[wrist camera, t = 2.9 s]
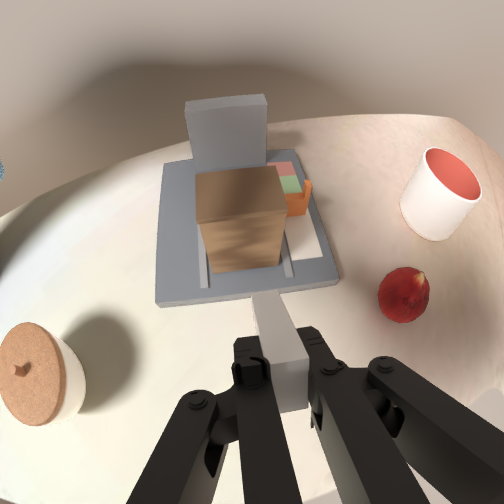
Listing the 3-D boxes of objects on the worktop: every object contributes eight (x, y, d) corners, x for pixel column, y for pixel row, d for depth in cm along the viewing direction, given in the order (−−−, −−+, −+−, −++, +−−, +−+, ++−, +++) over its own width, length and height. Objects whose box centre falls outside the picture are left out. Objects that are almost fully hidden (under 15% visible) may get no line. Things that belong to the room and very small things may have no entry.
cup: (450, 254, 32) (487, 213, 24) (394, 230, 34) (425, 180, 26) (447, 207, 37) (475, 165, 28) (398, 184, 39) (421, 137, 30)
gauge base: (159, 307, 29) (116, 256, 19) (166, 170, 40) (148, 108, 30) (335, 284, 30) (371, 225, 20) (293, 156, 41) (300, 93, 31)
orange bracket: (213, 225, 32) (207, 196, 28) (212, 218, 32) (207, 189, 28) (305, 215, 33) (312, 186, 28) (303, 208, 33) (309, 179, 29)
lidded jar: (59, 438, 20) (6, 438, 12) (28, 365, 24) (-22, 345, 16) (117, 404, 23) (66, 399, 15) (78, 326, 28) (31, 296, 19)
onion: (417, 316, 28) (455, 289, 21) (383, 339, 27) (420, 317, 20) (394, 277, 31) (424, 243, 24) (359, 296, 30) (387, 263, 23)
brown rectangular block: (211, 274, 29) (196, 220, 21) (208, 234, 32) (195, 174, 23) (278, 266, 30) (288, 209, 21) (270, 226, 32) (275, 165, 24)
